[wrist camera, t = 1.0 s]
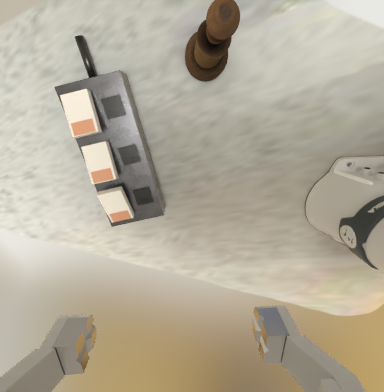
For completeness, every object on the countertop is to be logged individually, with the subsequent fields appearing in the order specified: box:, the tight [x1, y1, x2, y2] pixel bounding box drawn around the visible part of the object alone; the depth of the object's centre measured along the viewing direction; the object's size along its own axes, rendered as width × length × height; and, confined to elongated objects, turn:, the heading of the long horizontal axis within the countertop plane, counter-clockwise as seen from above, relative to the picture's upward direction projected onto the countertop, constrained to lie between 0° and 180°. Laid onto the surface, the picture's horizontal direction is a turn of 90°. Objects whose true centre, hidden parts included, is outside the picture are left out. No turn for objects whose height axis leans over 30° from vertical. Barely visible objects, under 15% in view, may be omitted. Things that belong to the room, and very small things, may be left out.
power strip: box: [55, 35, 165, 226], centre depth 37 cm, size 10×30×5 cm, turn 13°
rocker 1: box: [60, 89, 102, 138], centre depth 33 cm, size 4×6×1 cm, turn 13°
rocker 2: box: [97, 186, 134, 223], centre depth 38 cm, size 4×6×1 cm, turn 13°
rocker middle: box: [81, 141, 119, 185], centre depth 35 cm, size 4×6×1 cm, turn 13°
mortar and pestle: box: [185, 0, 240, 81], centre depth 27 cm, size 7×6×18 cm
